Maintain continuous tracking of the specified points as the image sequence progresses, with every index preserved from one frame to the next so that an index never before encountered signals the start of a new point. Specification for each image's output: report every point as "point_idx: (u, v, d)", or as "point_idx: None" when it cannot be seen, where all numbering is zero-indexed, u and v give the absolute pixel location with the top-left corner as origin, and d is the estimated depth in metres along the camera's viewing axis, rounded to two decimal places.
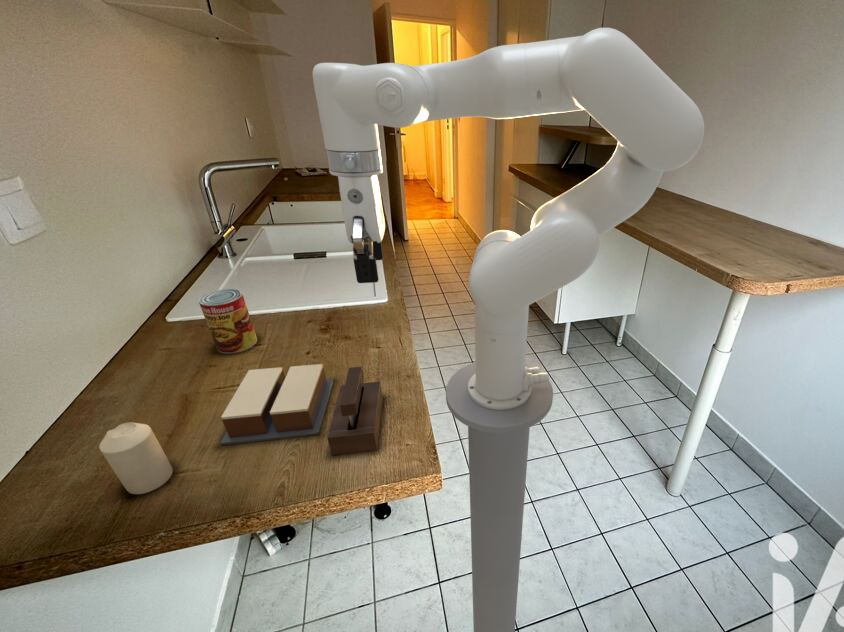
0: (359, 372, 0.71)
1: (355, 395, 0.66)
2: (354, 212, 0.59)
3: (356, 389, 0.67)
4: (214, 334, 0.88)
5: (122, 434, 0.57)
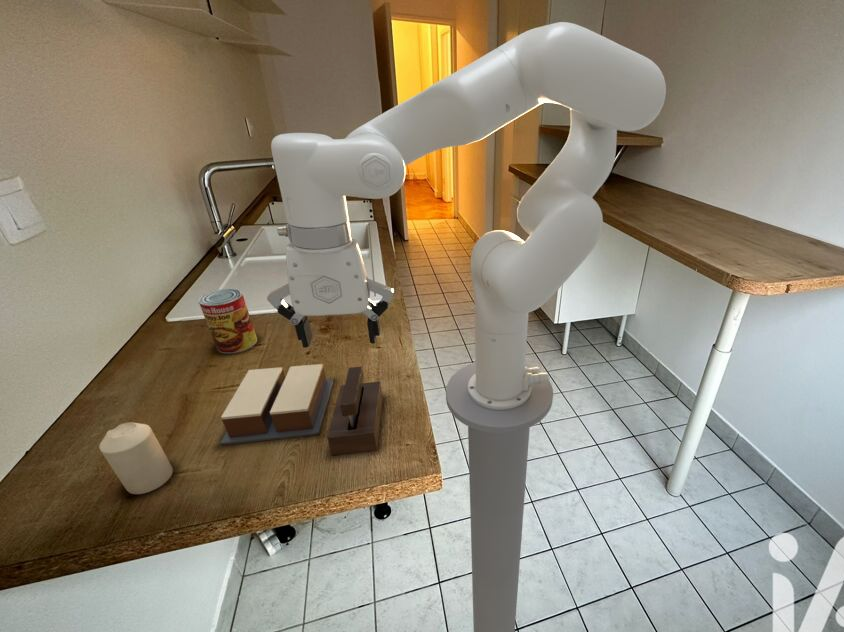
0: (359, 372, 0.71)
1: (355, 395, 0.66)
2: None
3: (356, 389, 0.67)
4: (214, 334, 0.88)
5: (122, 434, 0.57)
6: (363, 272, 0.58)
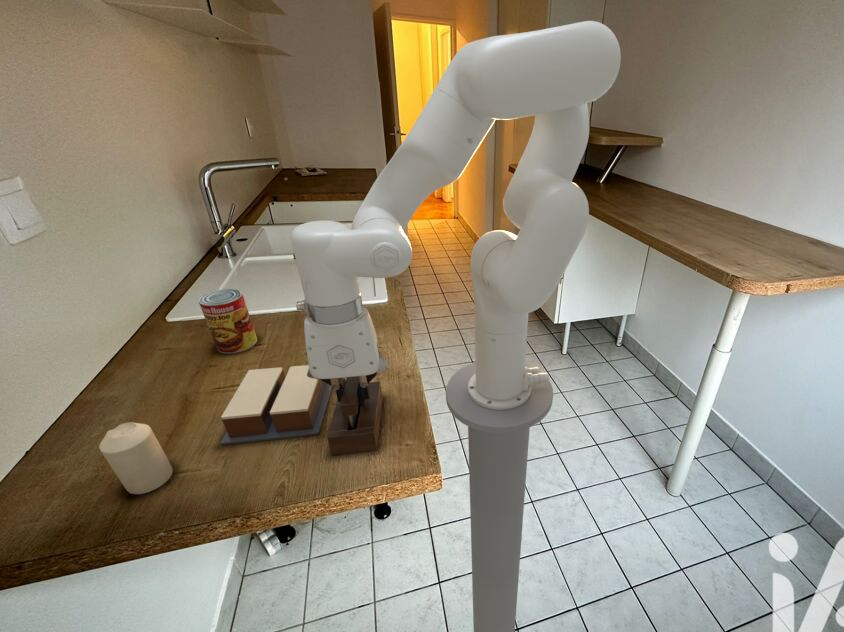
0: None
1: (355, 395, 0.66)
2: None
3: (356, 389, 0.67)
4: (214, 334, 0.88)
5: (122, 434, 0.57)
6: (374, 338, 0.63)
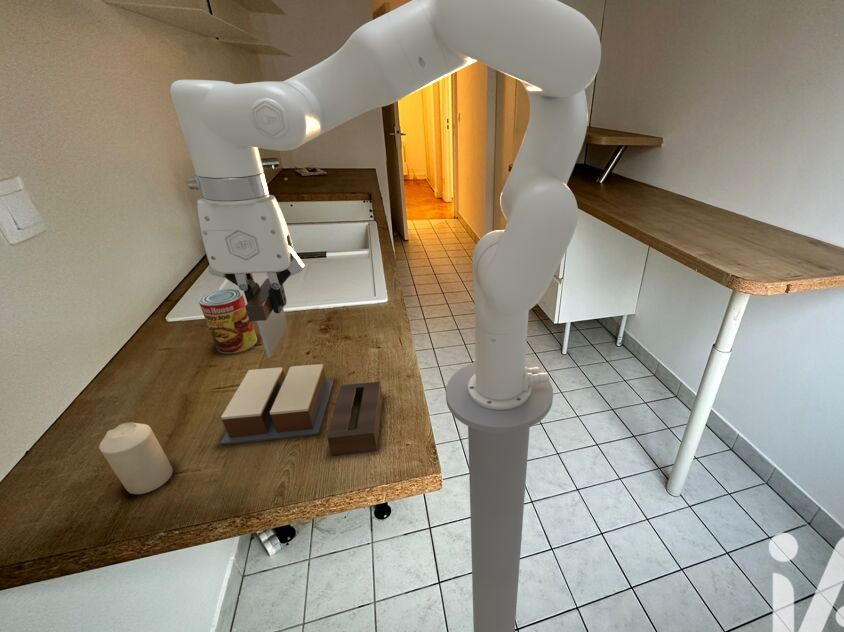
0: None
1: (265, 299, 0.60)
2: None
3: (268, 295, 0.61)
4: (214, 334, 0.88)
5: (122, 434, 0.57)
6: (282, 228, 0.57)
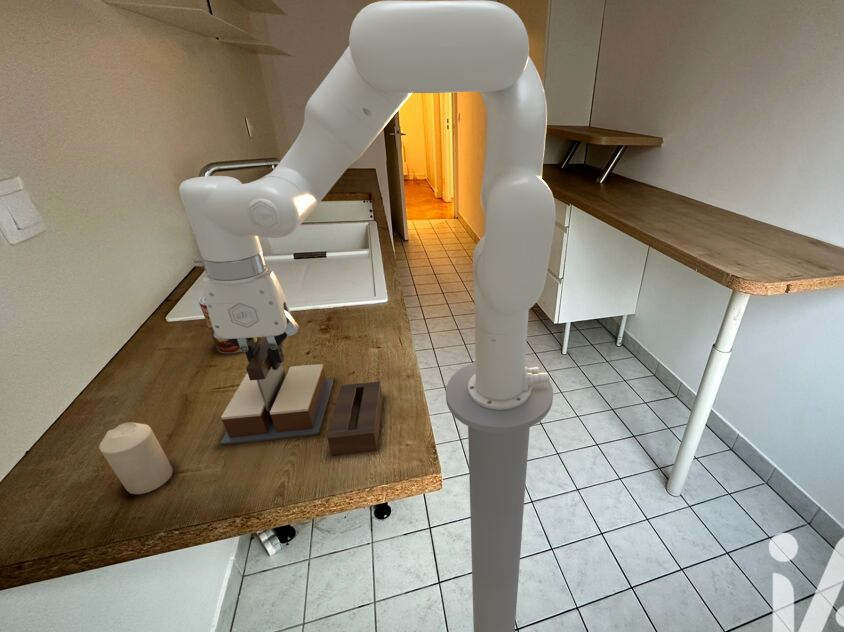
0: None
1: (264, 360, 0.66)
2: None
3: (267, 354, 0.67)
4: None
5: (122, 434, 0.57)
6: (278, 298, 0.63)
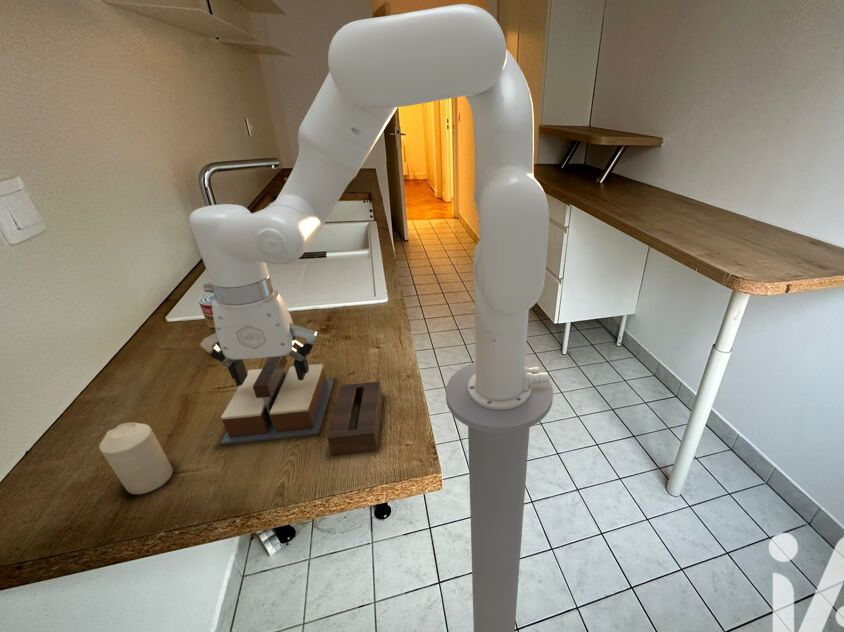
0: (280, 357, 0.73)
1: (270, 378, 0.68)
2: None
3: (272, 372, 0.69)
4: None
5: (122, 434, 0.57)
6: (285, 320, 0.65)
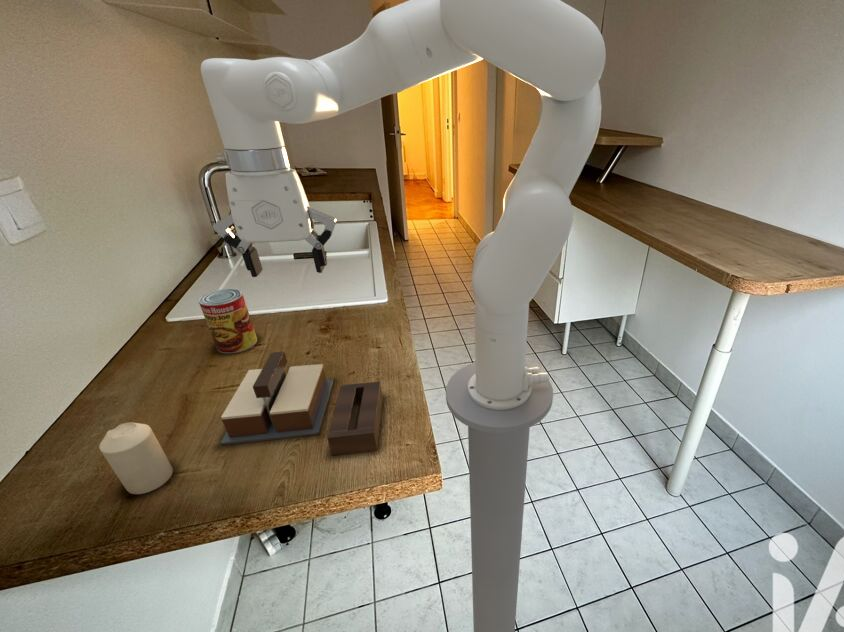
0: (280, 357, 0.73)
1: (270, 378, 0.68)
2: None
3: (272, 372, 0.69)
4: (214, 334, 0.88)
5: (122, 434, 0.57)
6: (302, 199, 0.61)
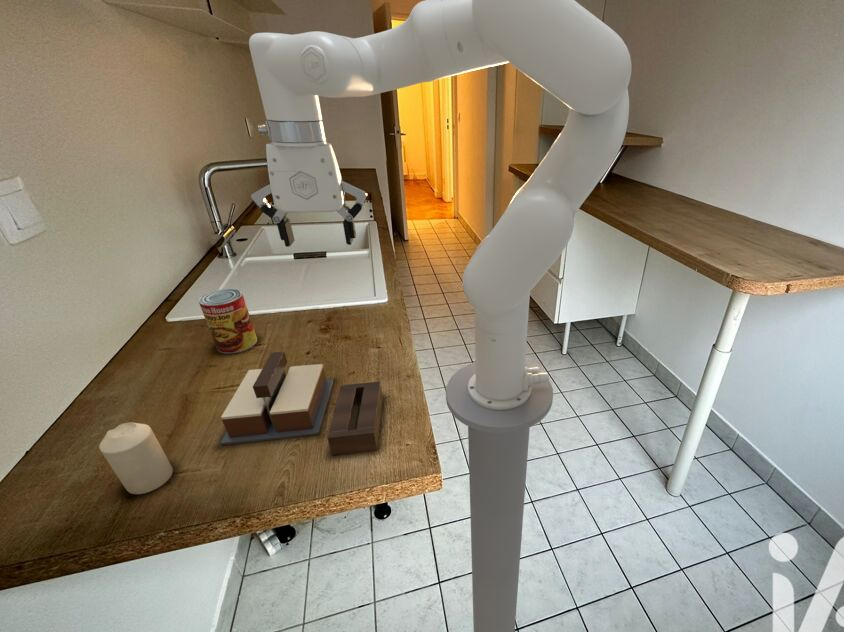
0: (280, 357, 0.73)
1: (270, 378, 0.68)
2: None
3: (272, 372, 0.69)
4: (214, 334, 0.88)
5: (122, 434, 0.57)
6: (337, 171, 0.64)
